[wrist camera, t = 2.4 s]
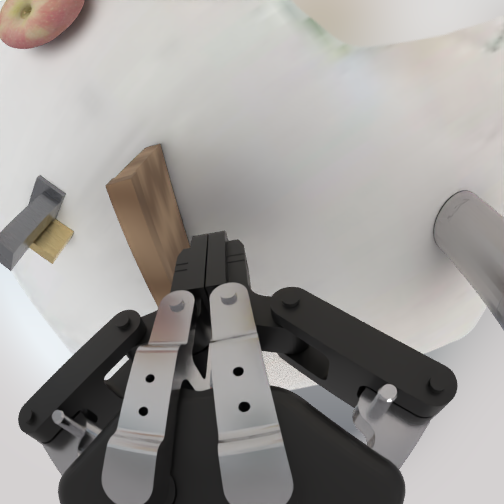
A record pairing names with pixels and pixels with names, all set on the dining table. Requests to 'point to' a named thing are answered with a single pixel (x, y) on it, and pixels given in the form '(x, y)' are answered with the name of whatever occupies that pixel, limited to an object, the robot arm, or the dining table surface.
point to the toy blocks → (36, 227)
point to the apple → (36, 21)
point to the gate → (150, 218)
